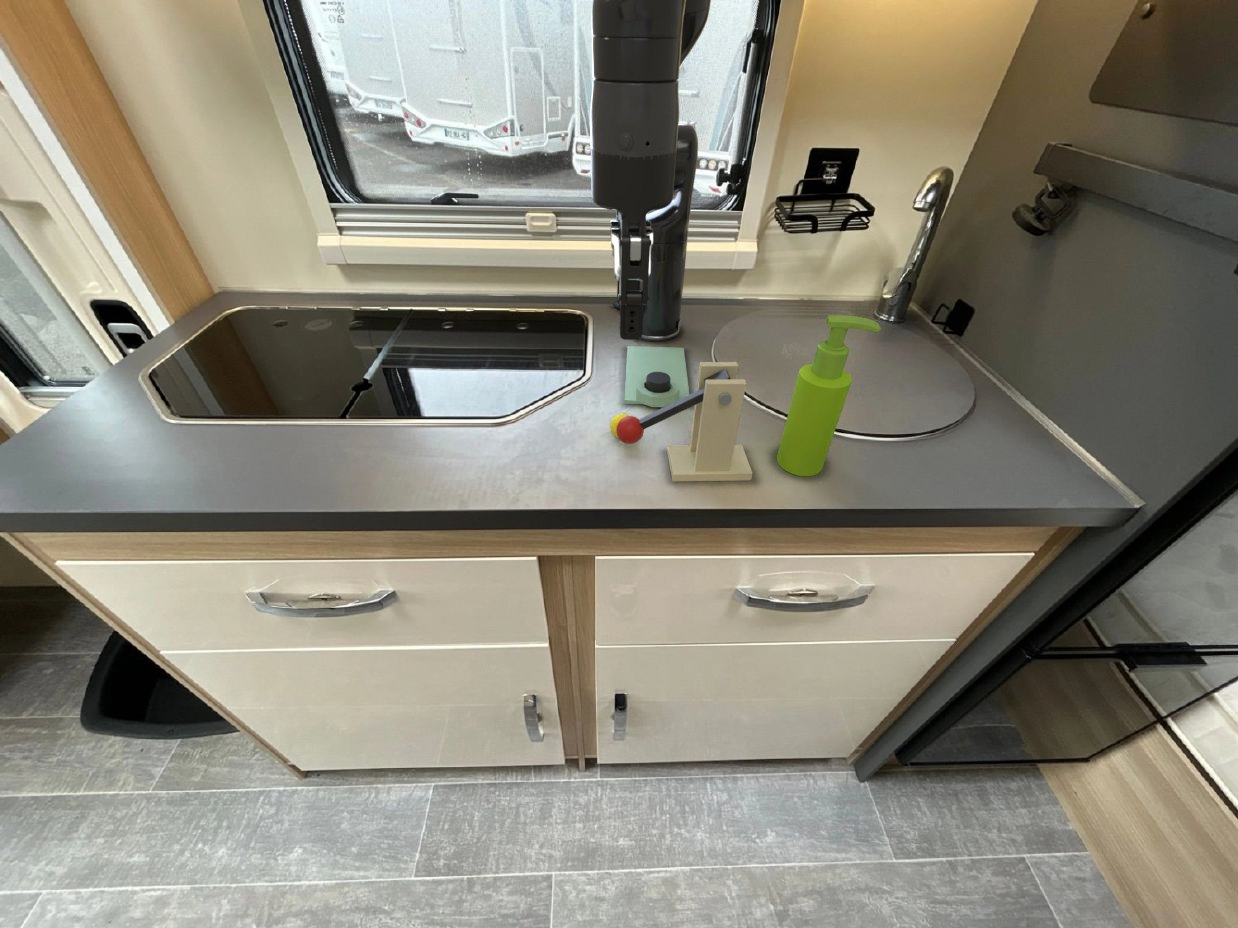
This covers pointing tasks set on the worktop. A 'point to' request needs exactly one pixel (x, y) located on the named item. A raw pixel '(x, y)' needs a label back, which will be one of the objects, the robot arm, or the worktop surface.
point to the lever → (661, 413)
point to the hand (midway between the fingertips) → (628, 319)
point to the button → (658, 382)
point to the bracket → (713, 431)
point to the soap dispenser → (819, 400)
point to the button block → (655, 361)
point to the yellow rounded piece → (615, 422)
